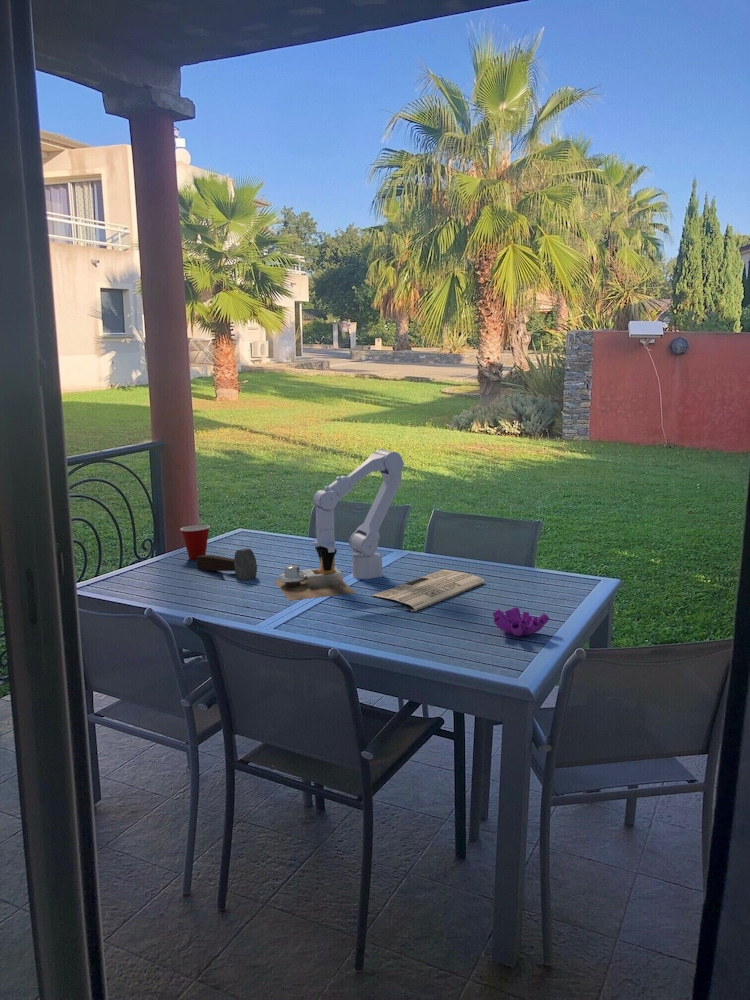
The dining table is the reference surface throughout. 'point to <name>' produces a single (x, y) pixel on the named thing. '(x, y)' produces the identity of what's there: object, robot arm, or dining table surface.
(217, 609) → the dining table surface
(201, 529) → the plastic cup
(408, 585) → the newspaper
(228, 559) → the hammer
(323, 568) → the tan rectangular prism
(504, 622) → the purple coral
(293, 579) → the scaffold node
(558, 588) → the dining table surface
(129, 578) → the dining table surface
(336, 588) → the board
